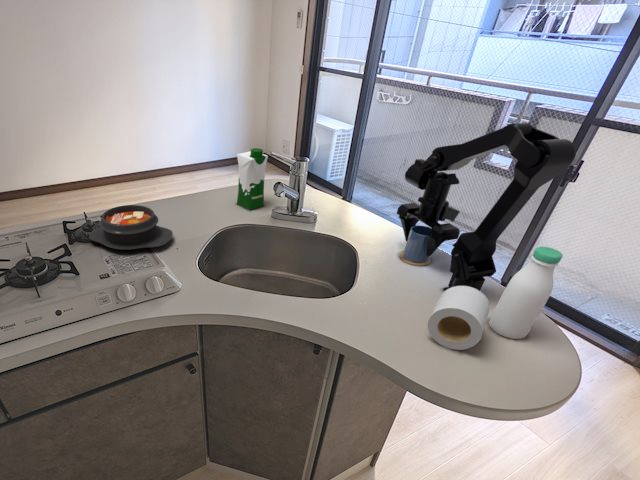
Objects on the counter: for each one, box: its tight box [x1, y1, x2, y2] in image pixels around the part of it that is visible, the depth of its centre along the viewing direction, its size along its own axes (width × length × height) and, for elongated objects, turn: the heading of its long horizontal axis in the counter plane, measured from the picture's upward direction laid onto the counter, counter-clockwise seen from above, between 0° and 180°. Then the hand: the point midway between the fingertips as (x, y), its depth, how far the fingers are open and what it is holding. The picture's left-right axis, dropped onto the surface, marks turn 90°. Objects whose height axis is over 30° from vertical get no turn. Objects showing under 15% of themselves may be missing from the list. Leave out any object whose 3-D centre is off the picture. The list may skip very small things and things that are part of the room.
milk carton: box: [236, 147, 269, 211], centre depth 138 cm, size 9×9×20 cm
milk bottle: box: [488, 246, 563, 340], centre depth 83 cm, size 8×8×20 cm
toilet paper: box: [427, 286, 491, 351], centre depth 84 cm, size 10×10×10 cm
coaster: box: [398, 250, 432, 267], centre depth 115 cm, size 9×9×1 cm
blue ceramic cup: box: [403, 224, 432, 263], centre depth 112 cm, size 9×7×8 cm
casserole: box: [88, 204, 173, 251], centre depth 117 cm, size 25×19×8 cm
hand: (417, 248), depth 113 cm, fingers open, 9 cm apart
